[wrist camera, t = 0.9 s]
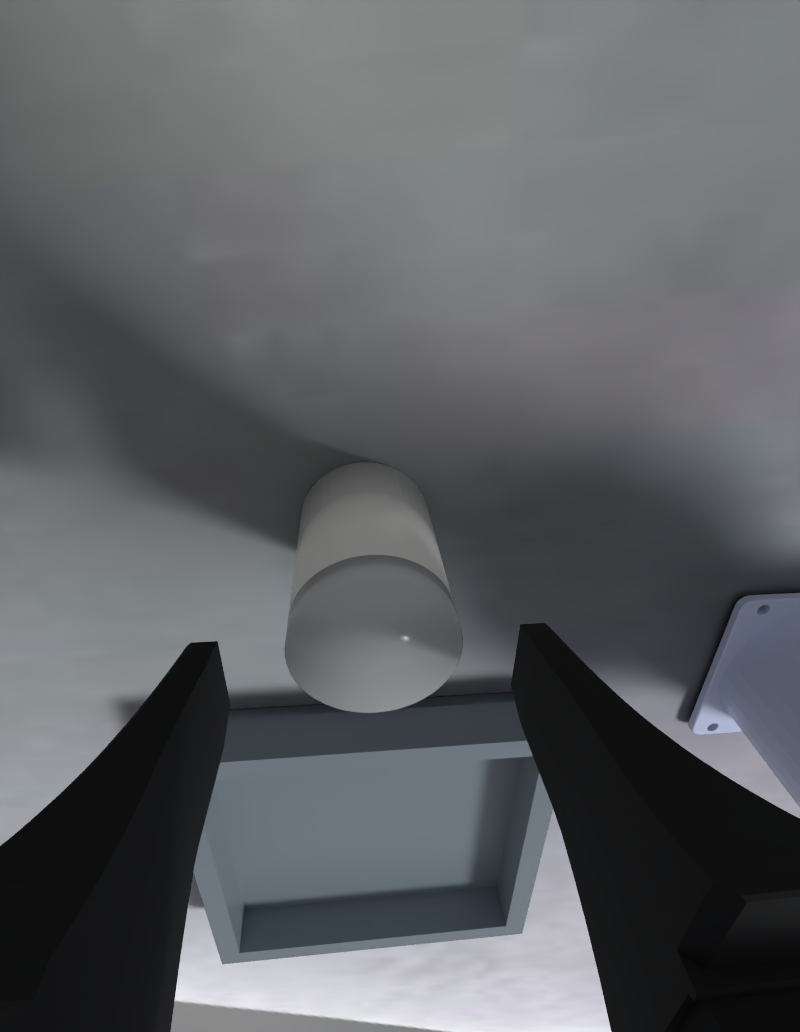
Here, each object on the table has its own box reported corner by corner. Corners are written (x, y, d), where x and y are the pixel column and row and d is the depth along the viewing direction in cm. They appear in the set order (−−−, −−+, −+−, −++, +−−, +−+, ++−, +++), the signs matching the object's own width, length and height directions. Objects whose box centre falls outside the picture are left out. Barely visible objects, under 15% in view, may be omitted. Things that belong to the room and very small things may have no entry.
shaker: (430, 460, 18) (469, 574, 13) (425, 568, 21) (456, 707, 15) (296, 463, 18) (276, 583, 12) (305, 573, 20) (292, 718, 15)
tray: (550, 690, 24) (570, 737, 22) (509, 884, 32) (521, 933, 30) (177, 713, 23) (159, 766, 21) (230, 910, 31) (222, 964, 29)
